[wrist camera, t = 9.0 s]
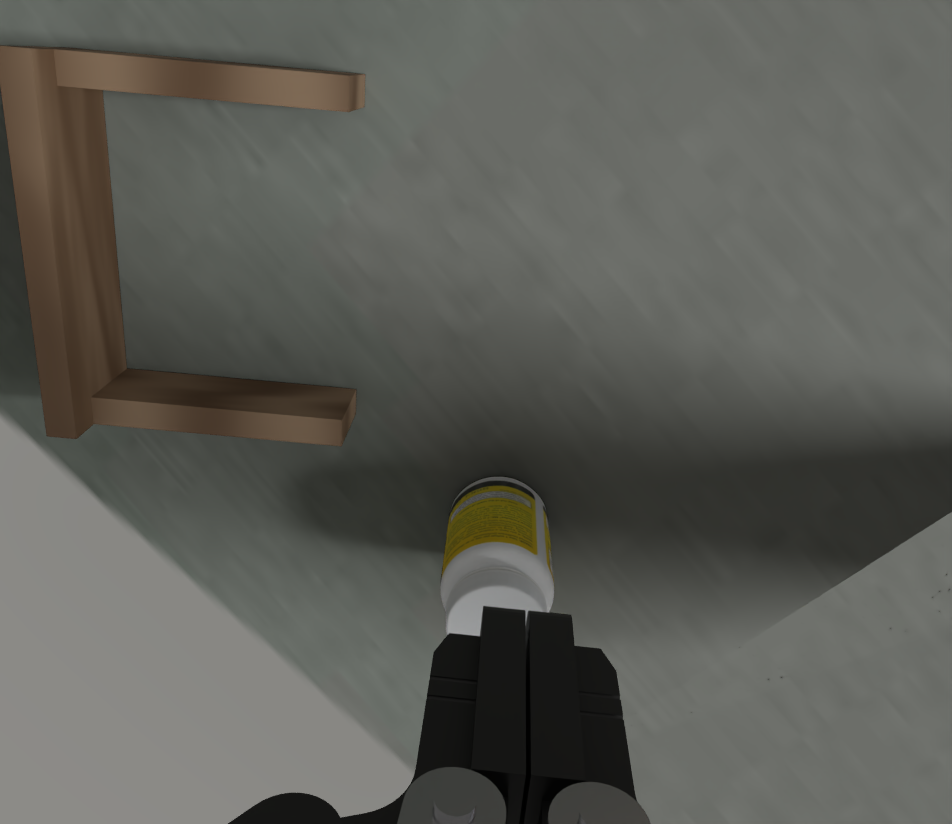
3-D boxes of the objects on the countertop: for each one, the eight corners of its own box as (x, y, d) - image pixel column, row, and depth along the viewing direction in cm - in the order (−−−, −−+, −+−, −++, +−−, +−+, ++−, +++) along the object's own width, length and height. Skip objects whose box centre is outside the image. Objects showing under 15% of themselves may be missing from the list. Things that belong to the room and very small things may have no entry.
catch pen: (365, 74, 32) (341, 76, 28) (355, 413, 38) (334, 462, 33) (68, 47, 32) (-6, 45, 28) (103, 390, 38) (47, 436, 33)
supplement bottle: (429, 506, 40) (410, 613, 32) (510, 455, 38) (511, 555, 31) (486, 576, 41) (481, 695, 33) (567, 530, 40) (581, 643, 32)
